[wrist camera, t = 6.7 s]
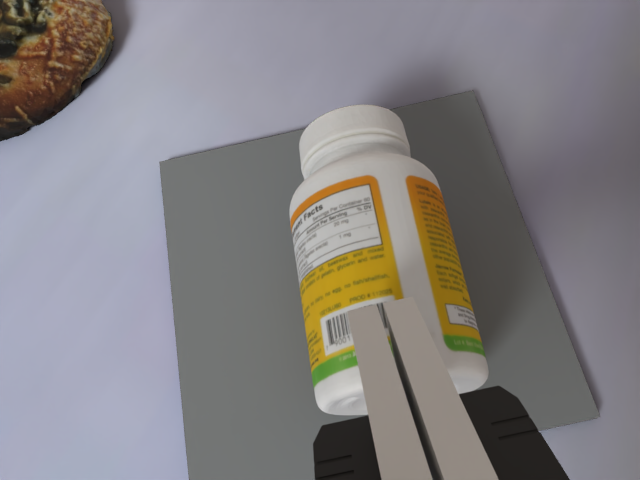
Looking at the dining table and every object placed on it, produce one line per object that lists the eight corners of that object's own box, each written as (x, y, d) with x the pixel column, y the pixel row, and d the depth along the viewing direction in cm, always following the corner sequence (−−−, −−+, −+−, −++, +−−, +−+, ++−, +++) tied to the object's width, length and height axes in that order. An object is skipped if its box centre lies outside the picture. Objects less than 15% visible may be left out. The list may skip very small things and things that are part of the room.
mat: (596, 418, 20) (600, 416, 20) (194, 505, 20) (191, 505, 20) (471, 96, 26) (473, 90, 26) (162, 166, 26) (159, 161, 26)
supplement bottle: (450, 407, 21) (396, 175, 25) (526, 368, 16) (444, 91, 21) (301, 424, 20) (270, 177, 24) (338, 387, 15) (291, 87, 19)
